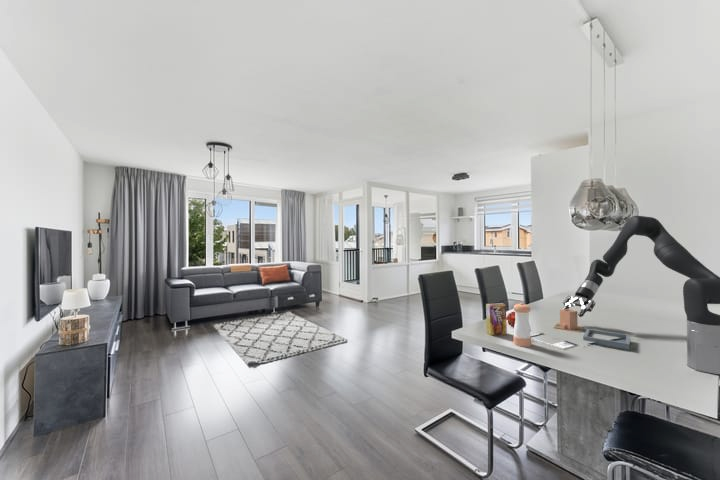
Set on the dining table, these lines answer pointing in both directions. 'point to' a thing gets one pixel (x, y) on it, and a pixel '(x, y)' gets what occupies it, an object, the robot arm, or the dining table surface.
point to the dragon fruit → (511, 318)
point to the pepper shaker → (522, 325)
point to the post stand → (569, 329)
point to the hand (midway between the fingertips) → (571, 313)
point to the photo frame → (559, 345)
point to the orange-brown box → (568, 319)
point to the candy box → (496, 319)
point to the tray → (617, 343)
